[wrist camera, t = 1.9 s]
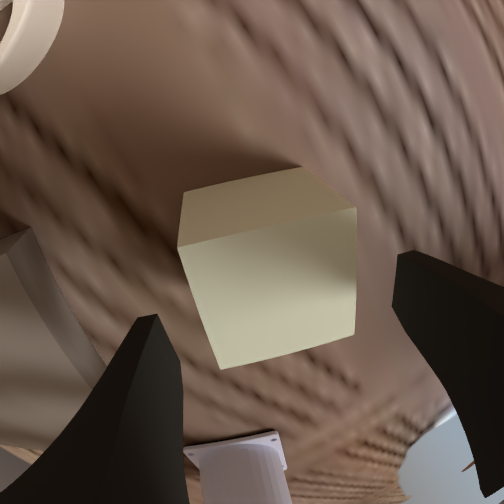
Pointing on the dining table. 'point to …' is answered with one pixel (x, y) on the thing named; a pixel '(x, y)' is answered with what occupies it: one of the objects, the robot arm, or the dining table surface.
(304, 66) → the dining table surface
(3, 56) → the white brass knuckles
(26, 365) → the taupe base
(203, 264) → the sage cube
